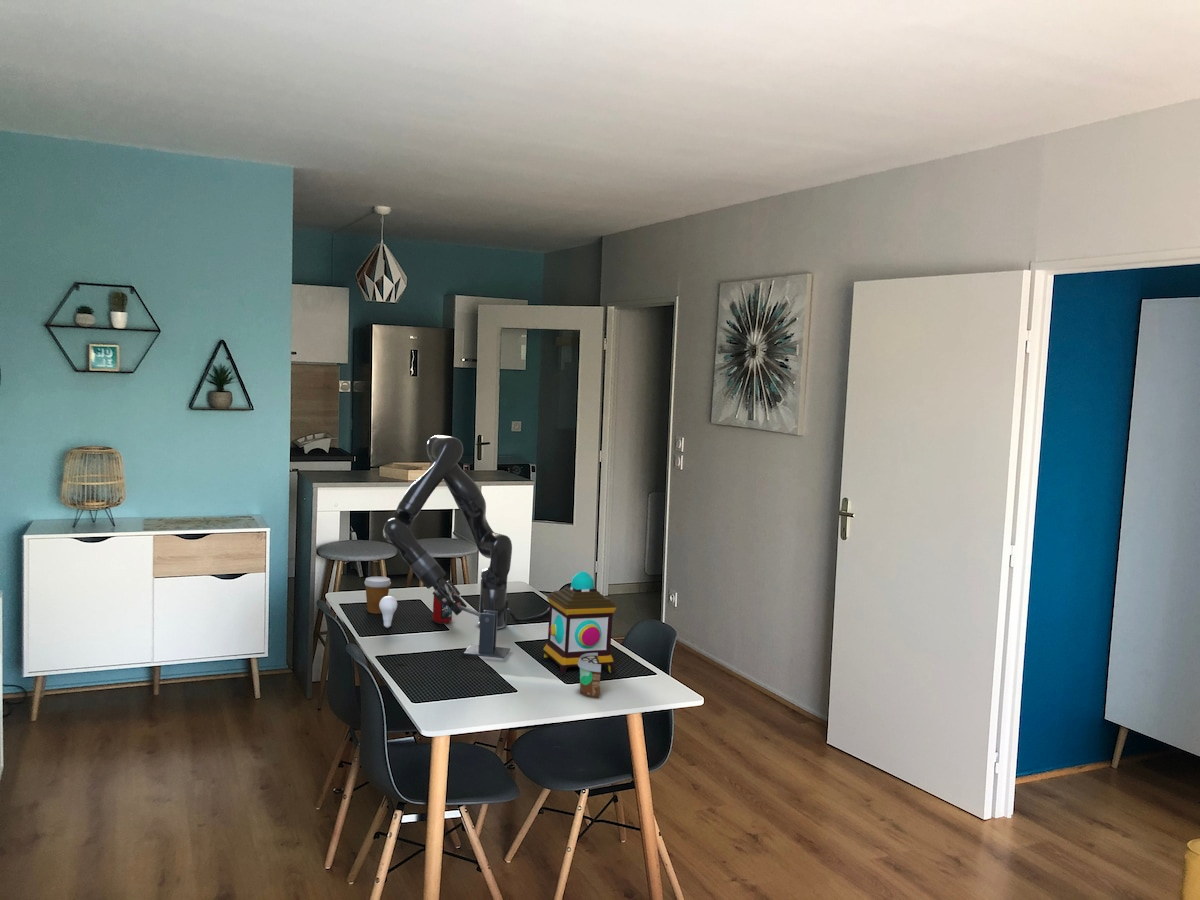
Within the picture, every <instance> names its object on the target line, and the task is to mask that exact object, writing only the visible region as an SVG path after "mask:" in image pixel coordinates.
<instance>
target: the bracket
mask: <svg viewBox="0 0 1200 900" xmlns="http://www.w3.org/2000/svg"><path fill="white" fill-rule="evenodd" d="M487 612H488V613H490V614H487ZM497 617H498V611H490V610H484V613H481V618H480V627H479V637H478V644H472V643H471V644H470V645H469V646H468V647H467V648H466V650H465V651H463V652H462V653H463V655H466V656H476V657H488V658H497V659H505V658H506V656H507V655H508V654H509V652H510V651H511V647H504V646H503V647H501V646H497V633H498V629H497Z"/></svg>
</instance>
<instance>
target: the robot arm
mask: <svg viewBox="0 0 1200 900" xmlns="http://www.w3.org/2000/svg"><path fill="white" fill-rule="evenodd" d="M426 452H427V457H428V458H429V460H430V461H431V463H432V465H431V466H430V468H429V469H428V470H427V471H426V472H425V473H424V474H423V475H421V476H420V477H419V478H418V479H416V481H414V482H413V483H412V484H411V485H410V486H409V487H408V489H407V490H406V491H405V494H404V495H403V496H402V497H401V499H400V501H399V502H398V505H397V507H396V509H395V511H394V512H393V514H392V515H391V516H390V518H389V519H388V520H387V521H386V522H385V523H384V526H383V529H382V535H383V538H384V539H385V541H387V542H388V543H391V544H393V545H394V547H395V548H396V549H397V551H398V552H399V554H400V556H401V557H402V559H403V560H404V561H405V563H406V564H407V565H408V566H409V568H410V569H411V570H412V572H413V573H414V575H415V576H416V577H417V578H418V580H420V582H421V583H422V584H423V585H424V587H425V588H426V589H428V590H429V589H431V588H433V590H434V591H433V592H432V595H433V597H434V596H435V597H436V598H437V599H438V600H439V601H440V602H441V603H442V604H443V605H444V606H445V607H446V606H448V607H450V608H451V610H452V613H454V615H456V616H458V615H460V614H461V613H462V611H463V610H461V609H460V608H459V606H458V605H457V603H458V602H460V603H461V606H464V607H466V608H468V607H467V606H468V605H467V604H466V602H464V601H463V599H462V598H461V592H460V591H459V590H458V588H457V587H456V586H455V584H454V583H453V582H452V580H451V579H449V580H446V579H445V578H444V577H445V576H447V575H446V574H447V572H446V571H445V570H444V568H442V566H441V565H440V564H439V563H438V562H437V560H436V559H435V558H434V557H433V556H432V555H431V554H430V553H429V552H428V551H427V550H426V548H424V546H423V545H422V544H421V543H420V542H419V541H418V540H417V538H416V537H415V535H414V533H413V532H412V531H411V529H410V528H411V525H412V524H413V523H414V521H415V519H416V518H417V516H418V515H419V514H420V512H421V510H423V508H424V506H425V505H426V502H427V501H428V499H429V498H430V496H431V495H432V493H434V491H435V490H436V489H437V487H438V486H439V485H440V483H441V482H442V481H444V483H445V485H446V487H447V489H448V490H449V492H450V494H451V496H452V498H453V500H454V502H455V504H456V506H457V508H458V510H459V511H460V513H461V515H462V517H463V518H464V521H465V522H466V524H467V526H468V528H469V530H470V532H471V534H472V537H473V540H474V542H475V545H476V548H477V550H478V552H479V553H480V555H481V556H483V557H484V558H486V559H489V560H490V561H489V566H488V567H487V568H483V569H482V570H481V574H480V591H479V607H478V612H480V613H484V610H490V611H498V617H497V630H503V629H504V628H505V627H507V625H508V618H510V617H511V618H512V619H513V620H514V621H516V622H517V621H518V622H521V621H530V620H535V619H539V618H542V617H545V616H546V615H547V614H549V612H550V606H549V607H548V608H547V609H546V610H545V611H544V612H542V613H540V614H537V615H533V616H530V617H524V618H523V617H522V618H520V617H516V616H515V614H514V613H513V612H512V611H511V608H509V600H508V598H507V592H508V590H507V589H508V575H509V573H510V571H511V565H512V555H513V543H512V539H511V538H510V536H508V535H506V534H502V533H497V532H495V531H494V530H493V529H492V527H491V526H490V524H489V522H488V519H487V516H486V515H487V503H486V499H485V496H484V495H483V493H482V491H481V490H480V487H479V486H478V485H477V483H476V482H475V481H474V479H472V477H470V476H469V475H468V474H467V473H466V472H465V471H464V470H463V469H462V468H461V466H460V464H458V463H459V461H460V460H461V458H462V457H463V454H464V445H463V442H462V441H461V440H460V439H458V438H457V437H454V436H449V435H441V434H437V435H434V436H432V437H430V438H429V439H428V441H427V444H426ZM480 618H481V617H479V616H478V623H477V626H478V628H480Z"/></svg>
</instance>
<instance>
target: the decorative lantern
mask: <svg viewBox="0 0 1200 900" xmlns="http://www.w3.org/2000/svg"><path fill="white" fill-rule="evenodd" d="M594 584H595V583H594V579H593V577H592V576H591V574H589V573H588V572H587V571H584V570H583V571H578V572H577V573H576V574H575V575H574V576H573V577H572V578H571V583H570V584H567V586H565V587H564V588H562V589H560V590H554V591H553V592H551V593H549V594H548V595H546V599H547V601H548V604H549V607H550V611H549V612H548V632H547V642H546V643H545V646H544V647H543V650H542V658H544V659H548V658H550V659H551V660H552V661H554V662H555V664H557V665H558V666H559V669H560V673H561V674H566V672H567V669H568V668H576V667H577V668H578V667H579V666H578V661H579V658H580V656H581V655H583V654H587V653H598V660H599V664H601V666H605V665H606V666H607V671H608V673H611V674H612V673H613V672H614V669H615V661H614V658H613V656H612V654H611V647H612V633H613V617H614V613H615V612H616V610H617V605H615V602H613V601H612V600H611V599H610V598H608V597H607V596H605V595H603V594H602V593H600V591H598V588H597V587H594V586H595V585H594Z"/></svg>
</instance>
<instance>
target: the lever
mask: <svg viewBox="0 0 1200 900" xmlns="http://www.w3.org/2000/svg"><path fill="white" fill-rule="evenodd" d="M457 605H458V606H459V608H460V609H461V610H462V611H463V612H466V613H467V614H468V613H469V614H471V615H474V616H477V617H478V618H479V617H481V613H480V612H479V611H477V610H475V609H472V608H468V607H464V606H461V603H460V602H458V603H457ZM487 614H490V613H488V612H487Z"/></svg>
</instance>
